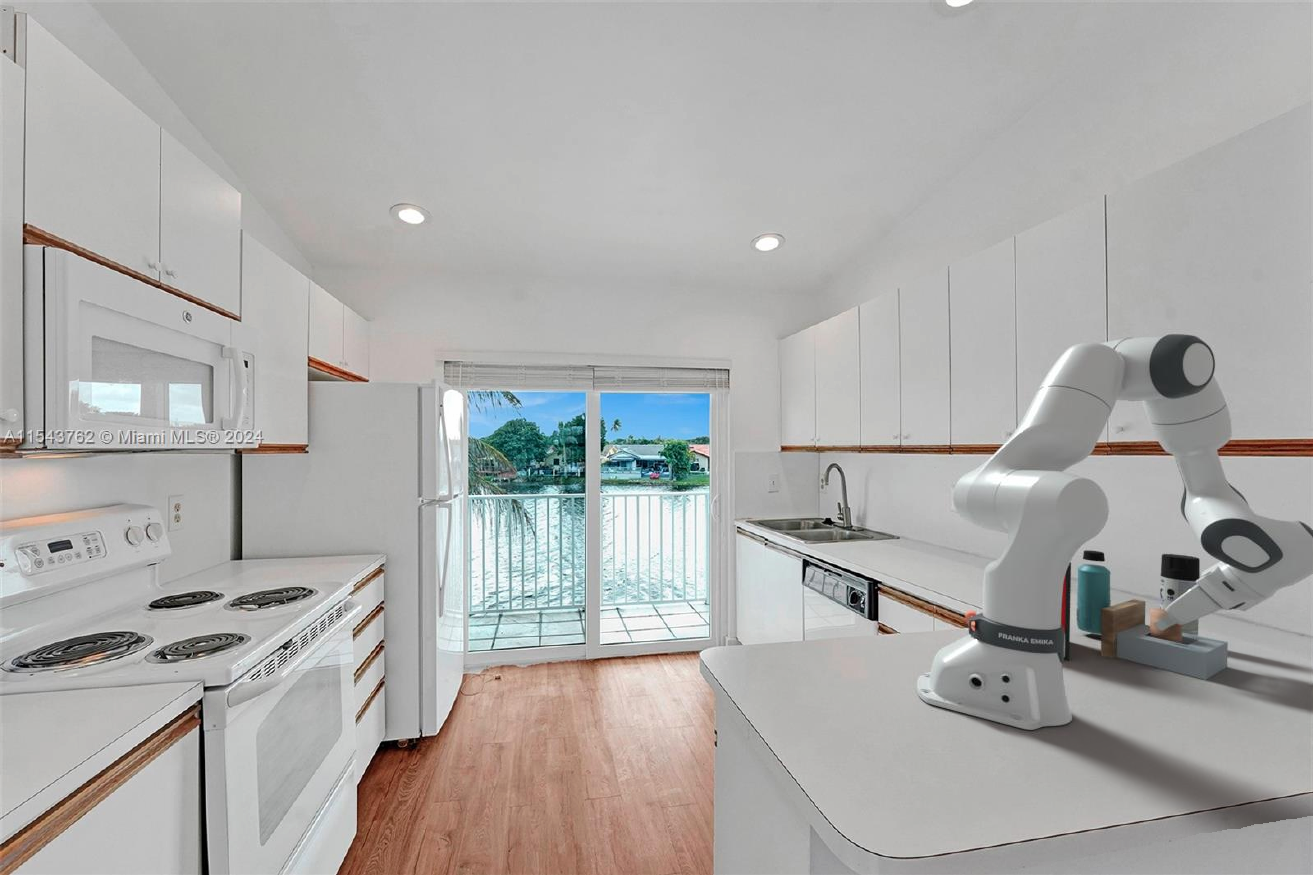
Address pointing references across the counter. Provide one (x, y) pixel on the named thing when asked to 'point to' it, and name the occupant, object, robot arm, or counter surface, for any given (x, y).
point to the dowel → (1168, 634)
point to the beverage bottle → (1092, 593)
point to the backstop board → (1119, 623)
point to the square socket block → (1173, 652)
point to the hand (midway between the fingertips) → (1166, 624)
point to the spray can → (1178, 582)
